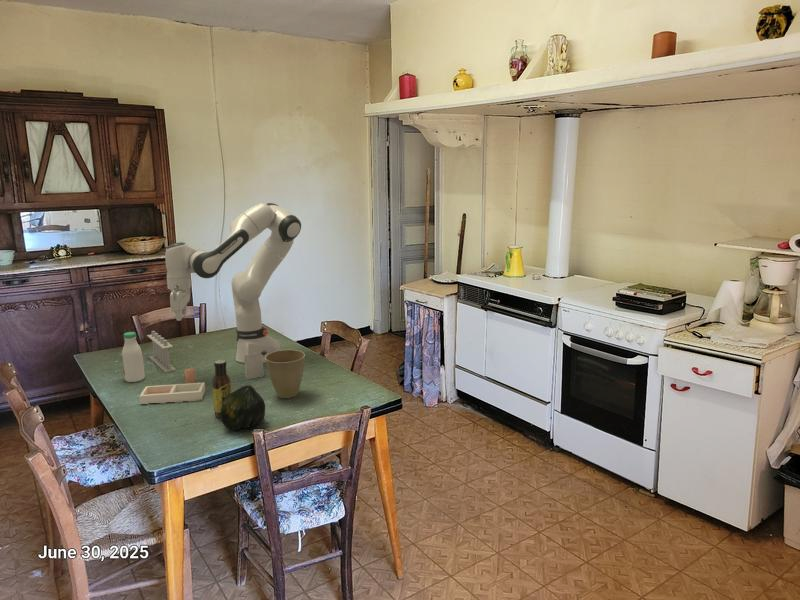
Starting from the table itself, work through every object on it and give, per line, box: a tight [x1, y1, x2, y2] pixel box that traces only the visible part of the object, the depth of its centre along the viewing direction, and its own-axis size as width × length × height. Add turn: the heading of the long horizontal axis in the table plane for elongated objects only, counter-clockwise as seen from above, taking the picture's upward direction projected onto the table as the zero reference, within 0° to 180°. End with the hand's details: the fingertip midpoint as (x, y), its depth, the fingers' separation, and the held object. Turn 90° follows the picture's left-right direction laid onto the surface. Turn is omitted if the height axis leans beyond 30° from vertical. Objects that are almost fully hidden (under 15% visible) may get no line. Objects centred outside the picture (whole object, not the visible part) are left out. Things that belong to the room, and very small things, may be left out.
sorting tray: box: [138, 381, 206, 405], centre depth 232 cm, size 22×10×4 cm, turn 99°
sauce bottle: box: [212, 359, 232, 418], centre depth 214 cm, size 6×6×20 cm
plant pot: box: [265, 349, 306, 399], centre depth 232 cm, size 15×15×16 cm
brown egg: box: [184, 367, 197, 384], centre depth 246 cm, size 4×4×6 cm
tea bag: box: [243, 353, 265, 380], centre depth 252 cm, size 4×7×10 cm, turn 121°
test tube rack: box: [146, 330, 177, 374], centre depth 270 cm, size 25×4×13 cm, turn 37°
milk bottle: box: [121, 331, 146, 383], centre depth 250 cm, size 8×8×20 cm
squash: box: [220, 384, 266, 431], centre depth 207 cm, size 14×15×15 cm
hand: (181, 317), depth 245 cm, fingers open, 8 cm apart
